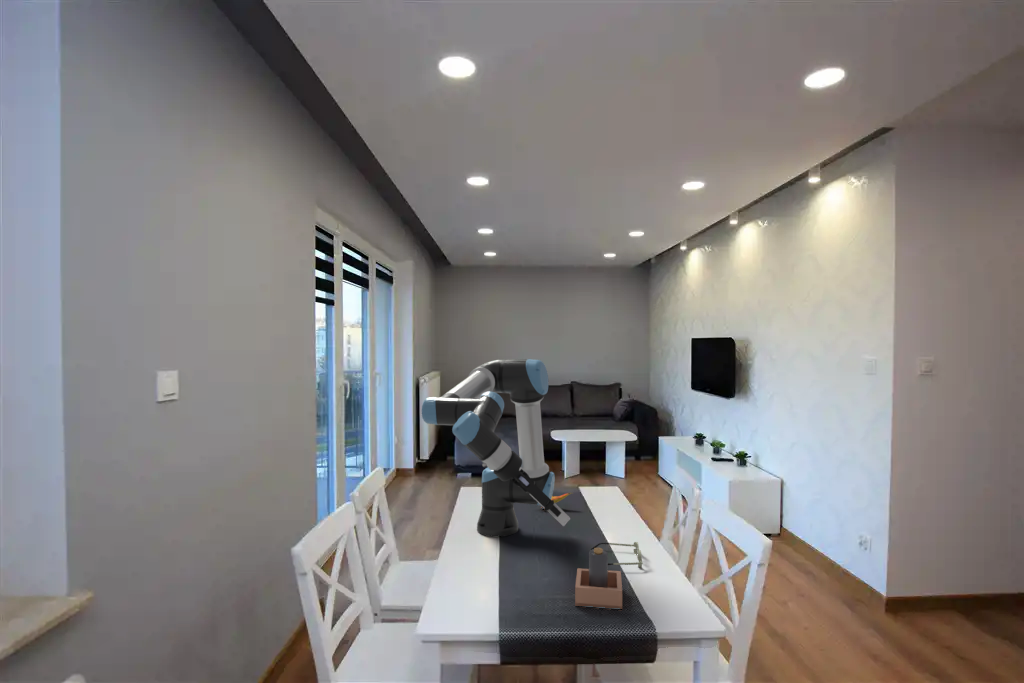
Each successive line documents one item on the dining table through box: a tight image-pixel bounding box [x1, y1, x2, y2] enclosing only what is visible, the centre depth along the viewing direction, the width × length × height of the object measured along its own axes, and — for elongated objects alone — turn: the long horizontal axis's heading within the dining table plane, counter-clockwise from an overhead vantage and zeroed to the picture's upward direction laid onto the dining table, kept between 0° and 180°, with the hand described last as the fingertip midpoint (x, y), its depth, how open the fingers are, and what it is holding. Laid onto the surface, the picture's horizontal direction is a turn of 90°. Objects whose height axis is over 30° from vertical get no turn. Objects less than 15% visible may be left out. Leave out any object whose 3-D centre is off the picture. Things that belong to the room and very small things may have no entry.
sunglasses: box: [591, 541, 644, 568], centre depth 170 cm, size 17×15×5 cm
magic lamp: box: [551, 492, 574, 504], centre depth 223 cm, size 7×18×11 cm, turn 85°
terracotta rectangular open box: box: [574, 567, 623, 610], centre depth 145 cm, size 12×12×5 cm
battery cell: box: [588, 547, 609, 588], centre depth 146 cm, size 5×5×12 cm
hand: (557, 513), depth 143 cm, fingers open, 13 cm apart
